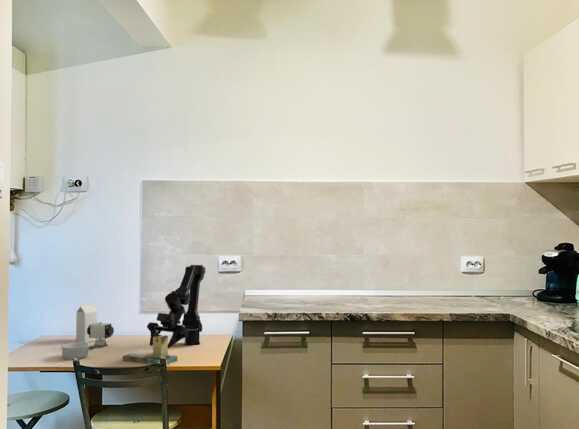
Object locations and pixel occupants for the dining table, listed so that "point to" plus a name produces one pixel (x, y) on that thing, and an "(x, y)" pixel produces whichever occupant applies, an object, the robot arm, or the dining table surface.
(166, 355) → the brass clip
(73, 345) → the saucepan
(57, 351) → the dining table surface
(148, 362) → the divided tray
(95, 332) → the pneumatic valve
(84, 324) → the milk carton
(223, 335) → the dining table surface
